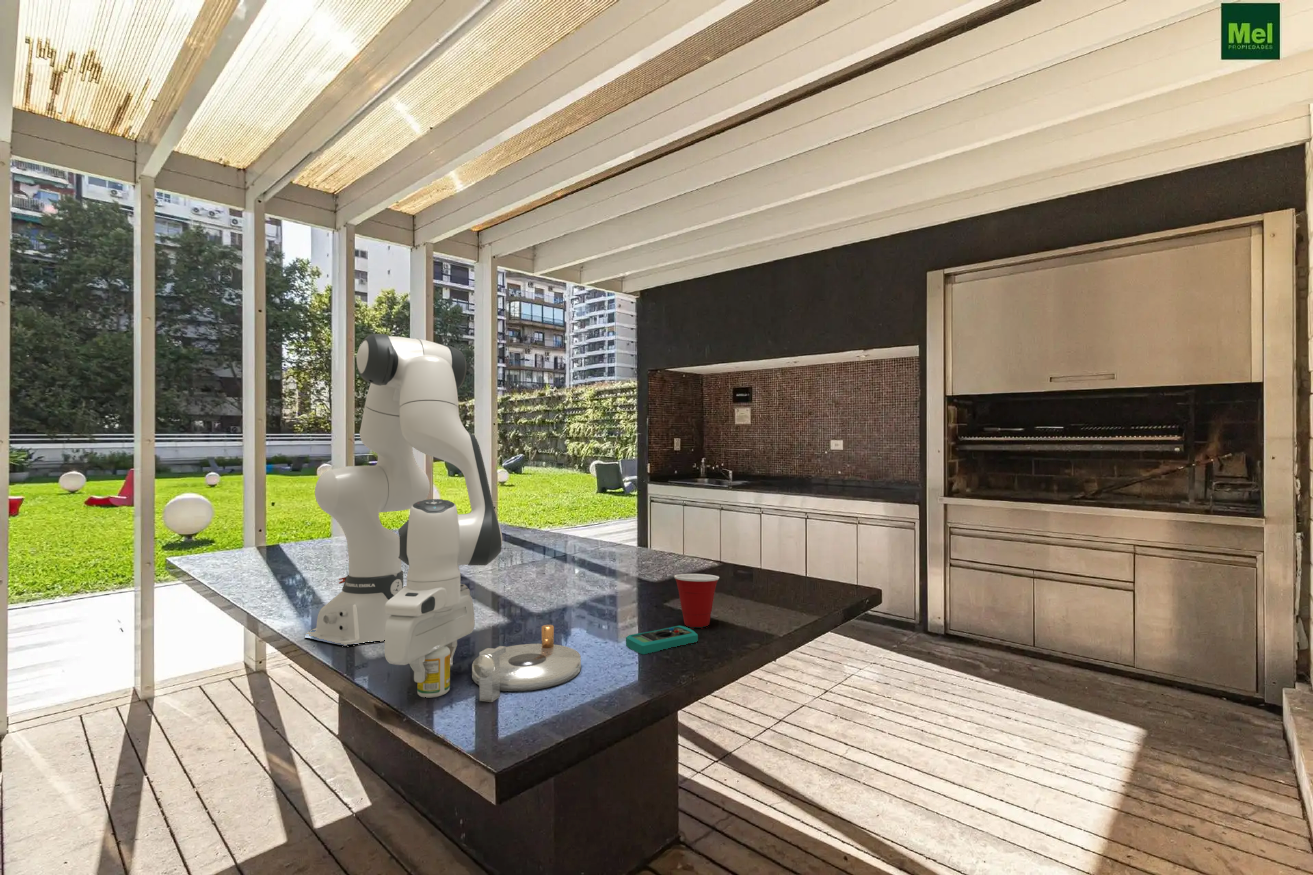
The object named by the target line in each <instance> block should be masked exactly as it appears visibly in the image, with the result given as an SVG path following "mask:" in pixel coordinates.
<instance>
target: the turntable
mask: <svg viewBox="0 0 1313 875" xmlns="http://www.w3.org/2000/svg"><path fill="white" fill-rule="evenodd" d="M554 628H555V626H554V625H553V624H544V625H541V643H526V644H525V643H524V644H516V645H509V646H506V652H505V653H504V654H502V655H500V691H503V692H507V691H508V692H524V691H533V690H540V689H545V688H550V687H554V686H557V685H561V684H564V683H566V682H568V681H570V680H571V679H573V678H575V677H576V676H578V674H580V671H581V668H582V661H581V660H582V658H581V654H580V652H579V651H578V650H576V649H574V648H572V647H570V646H565V645H560V644H555V642H554V641H555V635H554V634H555V633H554V632H555V629H554ZM474 661H475V659H474V660H473V661H472V664H471V679H472V680H473V682H474V683H475V684H477V685H478V686H480V676H478V675H477V674H476V672H475V670H474Z"/></svg>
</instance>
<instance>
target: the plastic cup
mask: <svg viewBox="0 0 1313 875" xmlns="http://www.w3.org/2000/svg"><path fill="white" fill-rule="evenodd" d="M673 577H674V579H675V581H676V585H677V586H676V587H677V589H678V596H679V602H680V608H681V612H682V616H683V617H682V618H683V623H684V626H685V625H686V626H690V627H703V626H708V625H710V622H711V616H712V615H711V614H712V612H713V604H714V599H715V598H714V597H715V592H716V587H717V583H718V581H719V579H720V576H719V575H713V574H705V573H681V574H675V575H673ZM686 626H685V627H686ZM708 627H709V626H708Z"/></svg>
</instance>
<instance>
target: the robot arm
mask: <svg viewBox="0 0 1313 875" xmlns="http://www.w3.org/2000/svg"><path fill="white" fill-rule="evenodd" d="M356 365H357V366H356V367H357V372H358V375H359V376H360V377H361V378H362V379H363V380H364V381H365V382H368V383H370V385H369V387H368V391H367V394H366V398H365V401H364V402H365V403H364V407H363V408H364V409H363V414H362V418H361V424H360V429H359V437H360V440H361V443H362V444H363V445H364V447H366V448H367V449H368V450H370V451H372V452H374V453H376V454H377V461H376V464H374V465H346V466H341V467H336V468H332V469H328V470H326V471H324V472H323V473H322V474H321V475H320V477H318V479H317V482H316V484H315V487H314V497H315V501H316V503H317V505H318V506H319V508H321V510H322V511H323V512H325V514H328V516H330V517H332V518H333V519H334V520H335V521H336V522H337V523H338V524H339V526H340V527H341V529H342V531H343V533H344V536H345V540H346V543H347V553H348V574H347V576H345V577H340V578H338V580H339V582H338V584H343V585H342V588H341V592H339V593H338V594H337V595H336V596H335V597H333V598H332V599H331V600H330V601H328V603H326V604H325V605H323V607H321V608H320V610H319V611H318V615H317V619H316V627H315V628H313V629H310V630H309V631H312V630H316V631H315V632H309V631H307V632H308V633H307V632H306V633H305V634H309V636H314V637H317V638H319V639H324V640H327V641H332V642H335V643H341V644H344V645H347V644H353V643H363V642H368V641H369V642H371V641H380V642H383V643H384V657H385V660H386V661H387V662H388V664H390V665H396V666H407V665H409V666H410V668H411V669H412V672H413V681H414V683H417V682H419V683H422V682H424V681H425V680H427V679H428V669H425V668H424V665H423V662H424V661H425V655H427V654H429V653H431V652H433V651H435V650H437V649H439V648H441V647H442V646H441V647H440V639H441V638H443V637H445V636H446V644H445V645H444V646H447V647H448V648H449V649H450V668H451V667H452V666H453V662H454V661H453V660H454V659H453V658H454V655H455V651H456V650H457V646H458V640H460V639H462V638H464V637H466V636H467V635H470V634H472V633H473V631H474V629H475V626H476V624H475V623H476V619H475V608H474V602H473V599H472V598H473V597H472V596H471V592H470V589H469V588H468V586H467V585H466V584H465V583H463V584H462V583H461V570H460V567H459V566H466V565H468V566H487V565H489V564H490V563H492V561H494V560H495V559H496V558H497V557H498V556H499V554H501V551H502V547H503V533H502V529H501V525H500V523H499V520H498V518H497V514H496V509H495V506H494V503H493V497H492V494H491V490H490V485H489V480H488V475H487V471H486V467H485V462H484V459H483V455H482V451H481V447H480V443H479V441H478V439H477V437H476V436H475V434H473V433H471V432H469V431H467V429H466V428H465V426H464V424H463V422H462V420H461V417H460V411H459V398H458V389H459V388H461V387H462V386H463V384H464V382H465V379H466V376H467V375H466V374H467V367H468V366H467V360H466V356H465V355H464V354H463V352H462V351H461V350H459V349H458V348H455V347H453V346H451V345H448V344H445V345H443V344H440V343H438V342H434V341H431V340H426V339H423V338H422V339H421V338H411V337H405V336H392V335H391V336H390V335H388V334H386V333H374V334H373V333H372V334H368V336H366V337H365V338H364V339H363V340H362V341H361V343H360V345H359V347H358V350H357V353H356ZM413 448H414V450H417V452H420V453H422V454H424V455H426V456H430V457H432V458H435V459H438V460H443V461H444V462H447V463H449V464H451V465H453V466H455V467H456V468H457V469H459V471H461V473H462V475H463V477H464V481H465V486H466V490H467V495H468V500H469V505H470V509H471V511H470V512H468V513H462V514H459V513H458V509H457V505H456V504H455V502H452V501H451V500H449V499H447V500H446V499H441V498H440V499H439V498H434V499H433V498H432V499H429V498H428V497H429V495H430V489H431V482H430V480H429V476H428V474H427V473H426V472H425V471H424V469H423V468H421V467H420V466H419V465H418V463H417V462H416V459H415V455H414V452H413ZM409 509H410V512H409V516H408V520H407V521H405V523H404V524H402V525H401V526H400V528H399V529H398V534H397V532H395V531H393V530H391V529H389V528H387V527H385V526H383V524H382V523H381V520H380V513H387V512H388V513H389V512H399V511H400V512H402V511H406V510H409ZM402 562H403V563H404V564H406V565H407V566H408V570H407V574H406V585H405V586H404V571H403V569H402ZM310 634H311V635H310ZM384 640H385V641H384Z"/></svg>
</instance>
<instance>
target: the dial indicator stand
mask: <svg viewBox="0 0 1313 875" xmlns="http://www.w3.org/2000/svg"><path fill="white" fill-rule="evenodd" d="M506 647H507V646H505V645H504V646H503V645H499V646H497V647H495V648H491V647H490V648H489V647H487V648H485V649H483V650H482V651H479V655H478V657H476V658H475V659H474V660H475V661H474V660H473V662H474V670H475V672H476V674H477V675H478V676H480V685H479V702H487V703H488V702H489V703H493V702H495V701H496V700H497V699H499V698H500V697H501V690H500V655H502V654H504V653H505V652H506Z"/></svg>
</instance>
